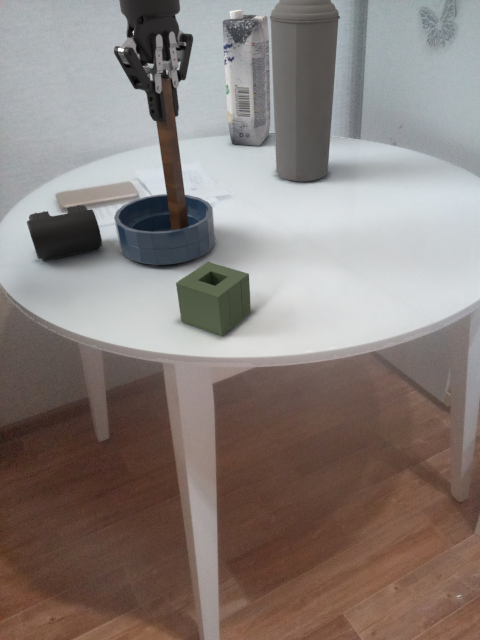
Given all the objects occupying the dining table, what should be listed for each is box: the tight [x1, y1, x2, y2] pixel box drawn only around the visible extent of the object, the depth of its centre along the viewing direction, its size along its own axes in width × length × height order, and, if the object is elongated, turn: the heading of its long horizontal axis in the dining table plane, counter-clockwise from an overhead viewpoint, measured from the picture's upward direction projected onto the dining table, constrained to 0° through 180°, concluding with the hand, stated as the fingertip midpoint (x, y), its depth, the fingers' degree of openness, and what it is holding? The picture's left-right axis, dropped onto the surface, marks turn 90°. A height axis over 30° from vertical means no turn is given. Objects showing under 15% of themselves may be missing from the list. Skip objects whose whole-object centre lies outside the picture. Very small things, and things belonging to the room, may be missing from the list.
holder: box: [175, 261, 252, 337], centre depth 74 cm, size 7×7×6 cm
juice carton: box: [222, 9, 271, 147], centre depth 129 cm, size 9×10×27 cm
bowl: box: [113, 193, 216, 266], centre depth 91 cm, size 15×15×6 cm
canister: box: [269, 0, 341, 182], centre depth 108 cm, size 13×13×35 cm
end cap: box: [26, 204, 103, 262], centre depth 89 cm, size 10×7×7 cm
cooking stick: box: [150, 78, 189, 230], centre depth 84 cm, size 2×2×22 cm
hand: (165, 118), depth 80 cm, fingers closed on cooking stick, 2 cm apart
